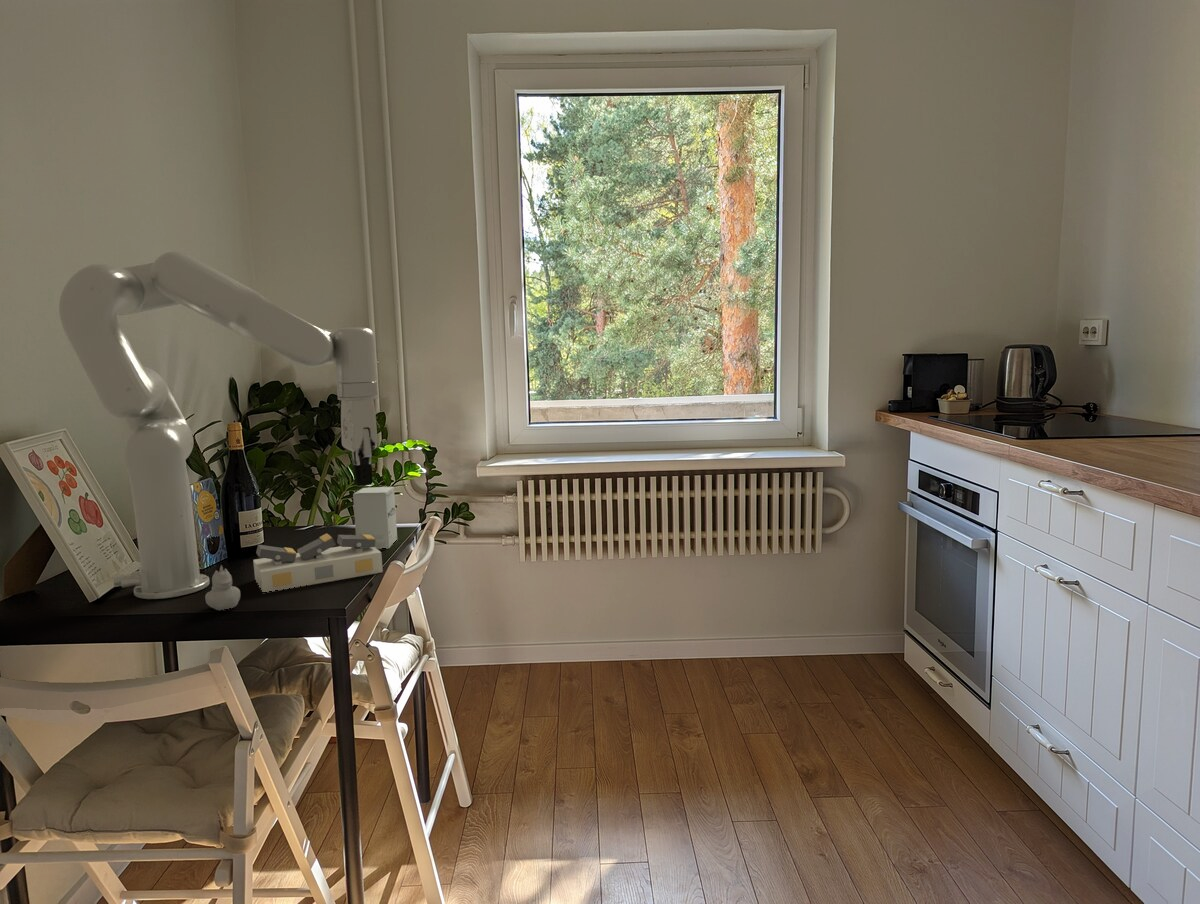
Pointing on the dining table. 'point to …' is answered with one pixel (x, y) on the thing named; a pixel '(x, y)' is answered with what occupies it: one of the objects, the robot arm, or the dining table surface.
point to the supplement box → (376, 515)
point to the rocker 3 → (356, 540)
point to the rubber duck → (222, 591)
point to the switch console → (317, 568)
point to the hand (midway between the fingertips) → (363, 484)
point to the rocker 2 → (316, 547)
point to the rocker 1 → (276, 553)
